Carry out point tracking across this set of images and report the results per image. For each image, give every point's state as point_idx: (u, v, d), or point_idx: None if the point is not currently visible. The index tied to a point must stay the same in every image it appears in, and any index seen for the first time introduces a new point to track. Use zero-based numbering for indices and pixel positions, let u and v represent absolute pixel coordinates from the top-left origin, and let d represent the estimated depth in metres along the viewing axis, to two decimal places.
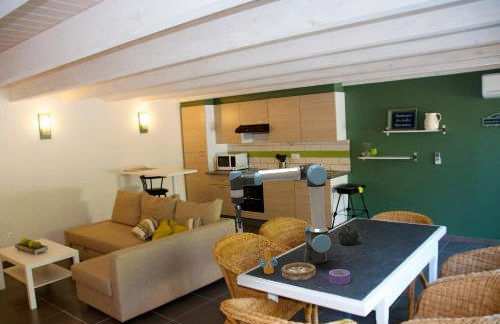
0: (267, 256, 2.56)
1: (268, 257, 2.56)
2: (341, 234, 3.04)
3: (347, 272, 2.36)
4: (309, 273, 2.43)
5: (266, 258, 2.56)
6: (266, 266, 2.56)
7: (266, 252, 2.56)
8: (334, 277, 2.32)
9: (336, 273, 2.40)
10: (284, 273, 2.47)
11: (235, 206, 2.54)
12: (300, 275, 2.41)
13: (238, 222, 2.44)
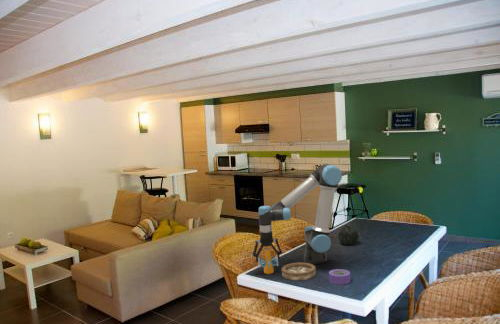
0: (267, 256, 2.56)
1: (268, 257, 2.56)
2: (341, 234, 3.04)
3: (347, 272, 2.36)
4: (309, 273, 2.43)
5: (266, 258, 2.56)
6: (266, 266, 2.56)
7: (266, 252, 2.56)
8: (334, 277, 2.32)
9: (336, 273, 2.40)
10: (284, 273, 2.47)
11: None
12: (300, 275, 2.41)
13: (253, 255, 2.58)
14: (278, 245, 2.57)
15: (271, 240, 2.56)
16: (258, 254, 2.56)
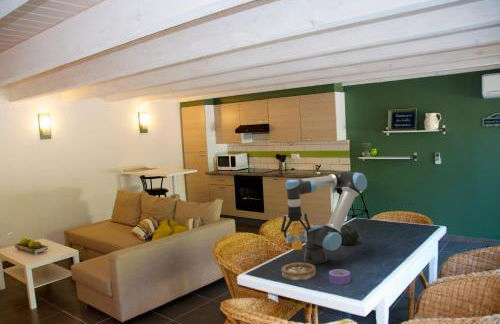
0: (296, 231, 2.48)
1: (297, 232, 2.48)
2: (341, 234, 3.04)
3: (347, 272, 2.36)
4: (309, 273, 2.43)
5: (295, 233, 2.48)
6: (295, 242, 2.47)
7: (295, 227, 2.47)
8: (334, 277, 2.32)
9: (336, 273, 2.40)
10: (284, 273, 2.47)
11: None
12: (300, 275, 2.41)
13: (281, 230, 2.49)
14: (307, 220, 2.48)
15: (300, 215, 2.48)
16: (286, 229, 2.48)
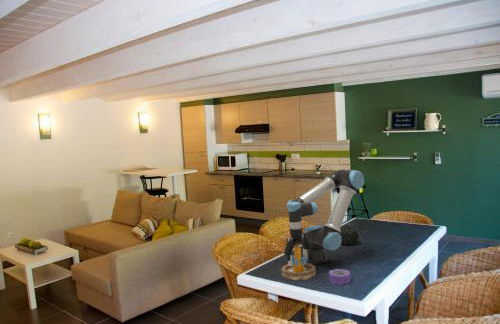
0: (299, 254, 2.49)
1: (300, 255, 2.49)
2: (341, 234, 3.04)
3: (347, 272, 2.36)
4: (309, 273, 2.43)
5: (298, 256, 2.49)
6: (299, 265, 2.48)
7: (298, 250, 2.49)
8: (334, 277, 2.32)
9: (336, 273, 2.40)
10: (284, 273, 2.47)
11: None
12: (300, 275, 2.41)
13: (284, 254, 2.45)
14: (306, 239, 2.54)
15: (301, 236, 2.51)
16: (291, 252, 2.45)
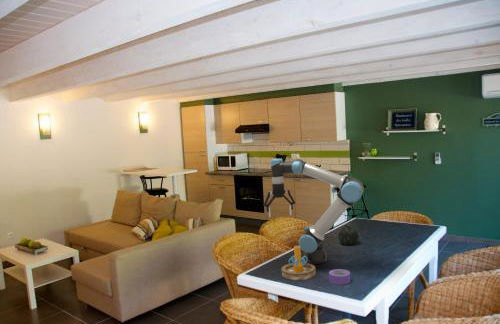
0: (299, 254, 2.49)
1: (300, 255, 2.49)
2: (341, 234, 3.04)
3: (347, 272, 2.36)
4: (309, 273, 2.43)
5: (298, 256, 2.49)
6: (299, 265, 2.48)
7: (298, 250, 2.49)
8: (334, 277, 2.32)
9: (336, 273, 2.40)
10: (284, 273, 2.47)
11: None
12: (300, 275, 2.41)
13: None
14: (290, 196, 2.65)
15: (283, 191, 2.64)
16: (269, 204, 2.64)
